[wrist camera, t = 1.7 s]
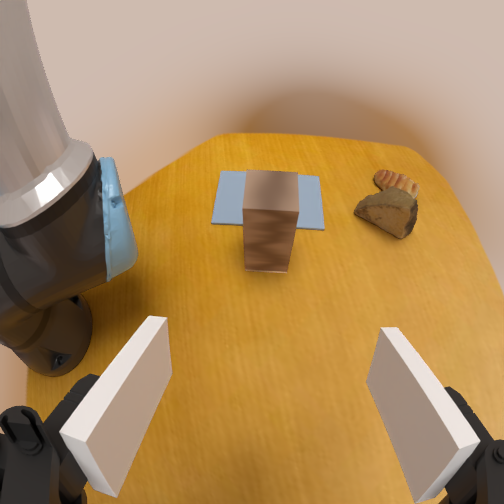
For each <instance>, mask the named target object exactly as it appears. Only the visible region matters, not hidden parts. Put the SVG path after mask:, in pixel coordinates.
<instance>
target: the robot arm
mask: <svg viewBox="0 0 504 504" xmlns="http://www.w3.org/2000/svg"><path fill="white" fill-rule="evenodd" d="M137 257H138V249H137V244H136V241H135V237H134V233H133V230H132V226H131V222H130V219H129V215H128V211H127V207H126V204H125V200H124V196H123V192H122V188H121V184H120V180H119V176H118V173H117V169H116V166H115V162H114V159H113V158H111V157H107V158H104V157H103V158H100V160H99V161H97V159H96V157H95V155H94V152H93V150H92V148H91V146H90V145H89V144H88V143H86V142H83V141H79V140H75V139H72V138H70V137H69V135H68V133H67V131H66V128H65V126H64V123H63V121H62V118H61V116H60V113H59V111H58V108H57V105H56V102H55V100H54V97H53V94H52V91H51V88H50V85H49V82H48V79H47V76H46V73H45V70H44V67H43V64H42V61H41V57H40V54H39V51H38V47H37V43H36V40H35V36H34V32H33V28H32V24H31V20H30V15H29V11H28V6H27V1H26V0H0V344H2V345H4V346H7V347H8V348H10V349H12V350H13V352H14V353H15V354H16V355H17V356H18V357H19V358H20V359H21V360H22V361H23V362H24V363H25V364H26V365H27V366H28V367H29V368H30V369H32V370H34V371H36V372H38V373H41V374H43V375H46V376H60V375H63V374H66V373H68V372H69V371H71V370H72V369H74V368H75V367H76V366H77V365H78V364H79V362H80V361H81V360H82V358H83V357H84V355H85V353H86V351H87V349H88V346H89V343H90V339H91V334H92V317H91V312H90V309H89V306H88V304H87V302H86V300H85V299H84V297H83V296H82V295H81V294H80V293H82V292H84V291H87V290H89V289H91V288H93V287H96V286H98V285H100V284H103V283H105V282H109V281H111V279H112V278H113V277H115V276H117V275H119V274H121V273H123V272H125V271H126V270H128V269H130V268H131V267H132V266H133V265H134V264H135V262H136V260H137ZM171 375H172V366H171V357H170V347H169V336H168V324H167V318H166V317H157V316H148V317H147V319H146V320H145V321H144V322H143V323H142V325H141V326H140V327H139V328H138V330H137V331H136V332H135V333H134V335H133V336H132V337H131V338H130V340H129V341H128V342H127V343H126V345H125V346H124V347H123V348H122V350H121V351H120V352H119V353H118V355H117V356H116V357H115V358H114V360H113V361H112V362H111V364H110V365H109V366H108V367H107V369H106V370H105V371H104V373H103V374H102V375H101V376H97V375H93V374H89V375H87V376H85V377H84V378H82V379H80V380H78V381H77V383H76V384H75V385H74V386H73V387H72V388H71V390H70V393H69V392H68V393H67V394H66V396H65V397H64V400H62V401H61V402H60V403H59V404H58V405H57V407H56V408H55V409H54V410H53V412H52V413H51V414H50V415H49V417H48V418H47V419H46V420H45V422H44V423H43V422H42V420H41V418H40V417H39V415H38V413H37V412H36V411H35V410H33V409H32V408H30V407H26V406H14V407H11V408H9V409H6V410H5V411H4V412H3V413H2V414H1V415H0V427H1V428H2V430H3V432H4V433H5V434H1V433H0V504H87V496H86V493H85V490H84V489H83V488H84V486H85V484H86V482H87V480H88V482H89V483H90V485H91V486H92V488H93V489H94V490H96V491H99V492H102V493H105V494H107V495H110V496H113V497H116V498H117V497H118V494H119V492H120V490H121V487H122V485H123V483H124V480H125V478H126V476H127V474H128V471H129V469H130V467H131V464H132V462H133V460H134V457H135V455H136V453H137V451H138V448H139V446H140V444H141V442H142V439H143V437H144V435H145V433H146V430H147V428H148V426H149V424H150V421H151V419H152V417H153V415H154V413H155V410H156V408H157V406H158V404H159V402H160V399H161V397H162V395H163V393H164V391H165V388H166V386H167V384H168V382H169V380H170V378H171ZM366 383H367V385H368V387H369V390H370V392H371V394H372V397H373V399H374V401H375V404H376V406H377V408H378V411H379V413H380V415H381V418H382V420H383V423H384V425H385V427H386V430H387V432H388V435H389V437H390V440H391V442H392V445H393V447H394V450H395V452H396V455H397V457H398V460H399V462H400V465H401V468H402V470H403V473H404V475H405V478H406V481H407V483H408V486H409V489H410V492H411V494H412V497H413V500H414V503H415V504H416V503H419V502H422V501H425V500H429V499H432V498H435V497H436V496H437V495H438V494H439V493H440V492H441V491H442V489H443V488H444V487H445V489H446V491H447V493H448V494H447V495H446V496H445V497H444V498H443V499H442V501H441V502H440V503H439V504H504V440H495V441H494V440H493V438H492V437H491V436H490V434H489V433H488V431H487V430H486V428H485V427H484V426H483V424H482V423H481V421H480V420H479V419H478V417H477V416H476V414H475V413H473V410H472V409H471V408H470V406H469V405H468V406H467V402H466V401H465V400H464V398H463V397H462V396H461V394H460V393H458V392H457V391H455V390H454V389H452V388H451V387H445V388H444V387H443V386H442V385H441V383H440V382H439V381H438V379H437V378H436V377H435V375H434V374H433V373H432V371H431V370H430V369H429V367H428V366H427V365H426V363H425V362H424V361H423V359H422V358H421V357H420V356H419V354H418V353H417V352H416V350H415V349H414V348H413V347H412V345H411V344H410V343H409V341H408V340H407V339H406V338H405V336H404V335H403V334H402V333H401V331H400V330H399V329H398V328H397V327H389V328H381V329H380V333H379V337H378V341H377V345H376V349H375V352H374V356H373V360H372V363H371V367H370V370H369V374H368V377H367V380H366Z"/></svg>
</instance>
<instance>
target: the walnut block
mask: <svg viewBox="0 0 504 504" xmlns="http://www.w3.org/2000/svg"><path fill="white" fill-rule="evenodd" d="M242 213H243V236H244V258H245V271H258V272H276V273H287V269H288V264H289V260H290V255H291V250H292V246H293V241H294V236H295V231H296V226H297V221H298V216H299V190H298V173H296V172H282V171H264V170H247V172H246V180H245V189H244V198H243V207H242Z"/></svg>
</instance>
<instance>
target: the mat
mask: <svg viewBox="0 0 504 504" xmlns="http://www.w3.org/2000/svg"><path fill="white" fill-rule="evenodd" d="M245 180H246V172H242V171H221V174H220V179H219V184H218V190H217V195H216V200H215V205H214V211H213V216H212V222H211V223H212V224H222V225H243V213H242V207H243V198H244V189H245ZM298 190H299V216H298V221H297V226H296V229H311V230H324V219H323V209H322V199H321V190H320V182H319V176H309V175H298Z"/></svg>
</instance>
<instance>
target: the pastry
mask: <svg viewBox="0 0 504 504" xmlns="http://www.w3.org/2000/svg"><path fill="white" fill-rule="evenodd" d="M374 180H375V183H376V185H377V186H378V187H380V188H381V189H382V191H384V190H386V189H388V188H389V187H391V186H394V187H395V188H399V189H401V190H404V191H406V192H408V193H409V194H410V195H411V196H412V198H413V199H414V198H416V196H417V194H418V191H419V187H420V186H419V184H418V183H415V182H414V181H412V180H411V179H410V178H408V177H407V176H406V175H404V174H398V173H394V172H393V171H388V170H379V171H378V172H377V173H375V175H374Z"/></svg>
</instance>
